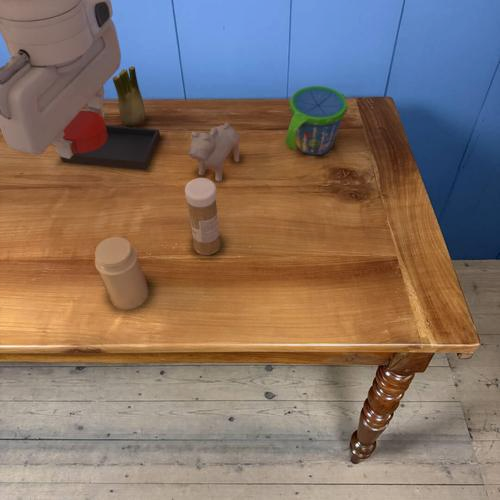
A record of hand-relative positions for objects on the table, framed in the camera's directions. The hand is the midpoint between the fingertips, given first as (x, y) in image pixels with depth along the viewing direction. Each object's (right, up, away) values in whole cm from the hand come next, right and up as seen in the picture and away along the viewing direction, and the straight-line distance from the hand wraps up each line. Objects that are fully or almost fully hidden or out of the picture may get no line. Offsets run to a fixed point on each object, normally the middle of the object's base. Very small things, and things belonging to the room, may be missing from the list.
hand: (83, 136), depth 59 cm
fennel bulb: (-3, +12, +39) cm, 41 cm away
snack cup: (+34, +6, +34) cm, 49 cm away
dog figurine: (+15, +1, +29) cm, 33 cm away
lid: (0, +1, -1) cm, 2 cm away
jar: (+3, -21, +11) cm, 25 cm away
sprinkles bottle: (+14, -14, +17) cm, 27 cm away
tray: (-6, +6, +33) cm, 34 cm away
